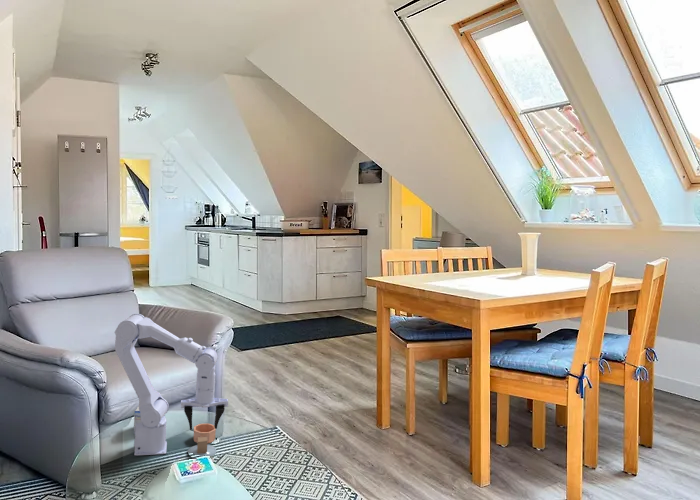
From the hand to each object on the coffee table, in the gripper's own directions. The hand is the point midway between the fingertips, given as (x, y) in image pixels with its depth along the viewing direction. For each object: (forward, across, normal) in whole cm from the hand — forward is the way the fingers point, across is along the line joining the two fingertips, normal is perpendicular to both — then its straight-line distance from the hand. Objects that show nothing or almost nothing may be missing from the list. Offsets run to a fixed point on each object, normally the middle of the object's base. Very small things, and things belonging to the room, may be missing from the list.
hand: (203, 427), depth 185 cm
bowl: (+8, +1, +10) cm, 13 cm away
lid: (+9, 0, 0) cm, 9 cm away
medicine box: (+9, -19, +18) cm, 28 cm away
